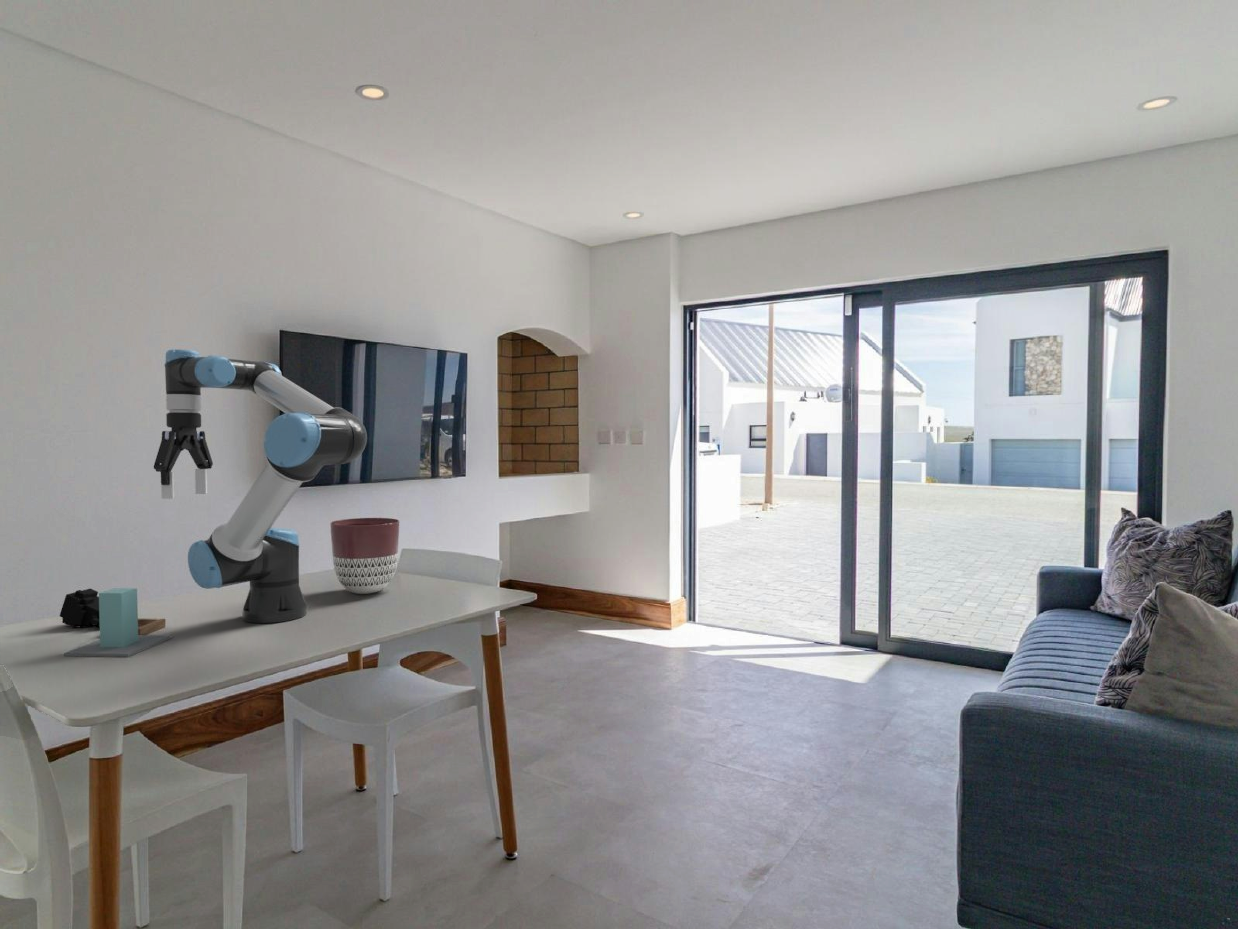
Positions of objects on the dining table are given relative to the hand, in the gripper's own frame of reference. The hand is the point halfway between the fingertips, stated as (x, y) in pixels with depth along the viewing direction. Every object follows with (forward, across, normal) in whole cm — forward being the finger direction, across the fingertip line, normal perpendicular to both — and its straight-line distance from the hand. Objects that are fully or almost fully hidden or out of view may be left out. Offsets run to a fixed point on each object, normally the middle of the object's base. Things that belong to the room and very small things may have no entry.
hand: (185, 496), depth 182 cm
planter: (+32, -34, +33) cm, 57 cm away
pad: (+32, +23, -1) cm, 39 cm away
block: (+31, +23, -1) cm, 39 cm away
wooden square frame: (+32, +11, -6) cm, 34 cm away
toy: (+32, +6, -18) cm, 37 cm away
